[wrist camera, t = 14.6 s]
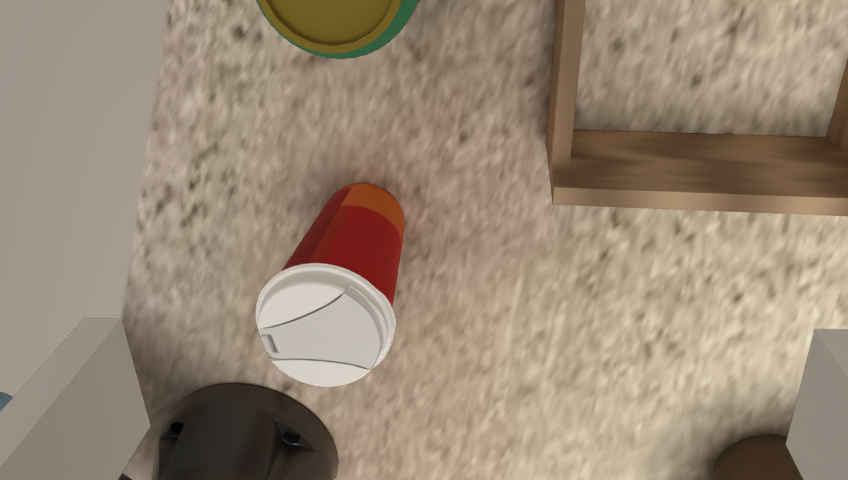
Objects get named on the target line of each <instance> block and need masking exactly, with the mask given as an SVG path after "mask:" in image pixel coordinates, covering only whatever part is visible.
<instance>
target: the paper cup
mask: <svg viewBox="0 0 848 480" xmlns="http://www.w3.org/2000/svg"><path fill="white" fill-rule="evenodd" d="M403 232H404V217H403V212H402V209H401V207H400V205H399V203H398V202H397V201H396V199H395V198H394V197H393V196H392V195H391V194H390V193H388V192H387V191H386V190H384V189H382V188H380V187H378V186H375V185H371V184H364V183H360V184H352V185H349V186H346V187H344V188H342V189H341V190H339V191H338V192H337V193H336V194H335V195H334V196H333V197H332V198H331V199H330V200H329V202H328V203H327V204H326V206H325V207H324V209H323V210H322V211H321V213H320V214H319V216H318V217H317V219H316V220H315V222H314V223H313V225H312V226H311V228H310V229H309V231H308V232H307V233H306V235H305V236H304V238H303V239H302V241H301V242H300V244H299V245H298V247H297V248H296V250H295V251H294V253H293V254H292V256H291V257H290V259H289V260H288V262H287V263H286V265H285V266H284V268H283V269H282V271H281V272H280V273H278V274H277V275H275V276H274V277H273V278H272V279H271V280H269V281H268V282H267V284H266V285H265V286H264V288H263V289H262V291H261V293H260V295H259V297H258V301H257V305H256V323H257V328H258V330H259V333H260V337H261V340H262V342H263V345H264V347H265V350H266V352H267V353H269V354H270V356H271V359H270V360H271V362H272V363H273V364H274V365H275V366H276V367H277V368H278V369H280V370H281V371H282V372H283V373H285V374H287V375H288V376H290V377H292V378H294V379H296V380H298V381H300V382H303V383H306V384H309V385H315V386H322V387H335V386H342V385H346V384H349V383H352V382H355V381H357V380H358V379H360V378H362V377H364V376H365V375H366V374H368V373H369V372H370V371H371V370H372V369H373V368H374V367H375V366H377V365H378V364H379V363H380V362H381V361H382V360H383V359H384V358H385V356H386V354H387V353H388V351H389V349H390V347H391V344H392V341H393V335H394V330H395V326H396V319H395V315H394V312H393V309H392V307H393V300H394V294H395V288H396V281H397V275H398V268H399V262H400V255H401V248H402V241H403Z"/></svg>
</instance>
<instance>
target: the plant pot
mask: <svg viewBox="0 0 848 480" xmlns="http://www.w3.org/2000/svg"><path fill="white" fill-rule="evenodd" d="M786 441H787V438H785V437H780V436H759V437H753V438H749V439H746V440H743V441H741V442H739V443H737V444H735V445H733V446H732V447H730V448H729V449H727V450H726V451H725V452H724V453H723V454H722V455H721V457H720V459H719V460H718V462H717V464H716V468H715V472H714V477H713V480H803V478H802V476H801V474H800V472H799V470H798V468H797V466H796V464H795V462H794V460H793V458H792V456H791V454H790V452H789V450H788V448H787V446H786Z"/></svg>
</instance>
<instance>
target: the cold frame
mask: <svg viewBox="0 0 848 480" xmlns="http://www.w3.org/2000/svg"><path fill="white" fill-rule="evenodd" d="M584 11H585V0H557V9H556V22H555V34H554V47H553V60H552V73H551V85H550V98H549V111H548V124H547V136H546V149H547V158H548V167H549V175H550V184H551V193H552V202H553V205H579V206H604V207H629V208H654V209H679V210H705V211H730V212H755V213H780V214H805V215H831V216H848V61H847V64H846V68H845V72H844V75H843V79H842V83H841V86H840V90H839V94H838V97H837V101H836V105H835V108H834V112H833V115H832V119H831V123H830V126H829V130H828V134H827V137H795V136H762V135H729V134H695V133H662V132H629V131H595V130H573V125H574V115H575V104H576V94H577V83H578V73H579V63H580V52H581V42H582V32H583V21H584Z"/></svg>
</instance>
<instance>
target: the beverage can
mask: <svg viewBox="0 0 848 480" xmlns="http://www.w3.org/2000/svg"><path fill="white" fill-rule="evenodd" d="M419 1H420V0H256V2H257V4H258V5H259V7H260V9H261V11H262V13H263V14H264V16H265V17H266V19H267V20H268V21H269V23H270V24H271V25H272V26H273V27H274V28H275V29H276V30H277V32H278V33H279V34H280V35H281V36H283V37H284V38H285V39H287V40H288V41H289V42H290V43H292V44H293V45H295V46H297V47H299V48H300V49H302V50H304V51H307V52H309V53H312V54H314V55H318V56H322V57H326V58H336V59H346V58H355V57H359V56H363V55H367V54H369V53H371V52H373V51H376V50H378V49H380V48H381V47H383V46H384V45H386V44H387V43H389V42H390V41H391V40H392V39H393V38H394V37H395V36H396V35H397V34H398V33H399V32H400V31H401V30H402V28H403V27H404V26H405V24H406V23H407V22H408V20H409V18H410V16H411V15H412V13H413V11H414V10H415V8H416V6H417V4H418V3H419Z"/></svg>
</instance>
